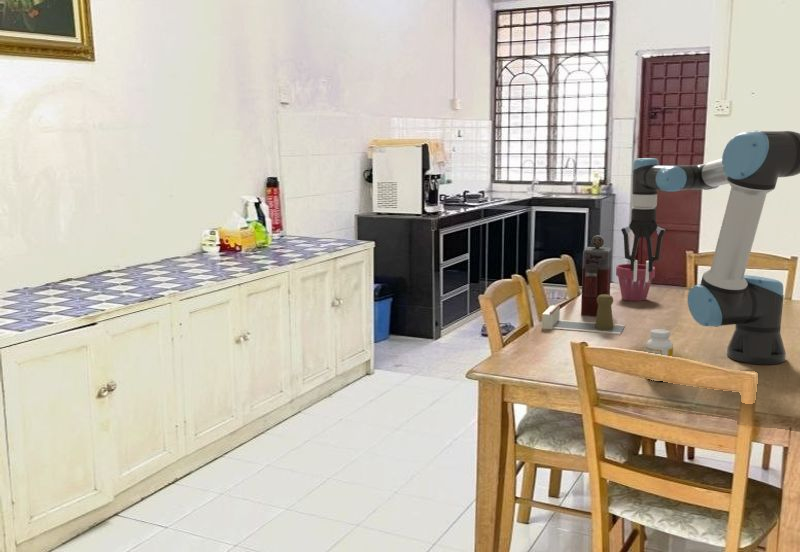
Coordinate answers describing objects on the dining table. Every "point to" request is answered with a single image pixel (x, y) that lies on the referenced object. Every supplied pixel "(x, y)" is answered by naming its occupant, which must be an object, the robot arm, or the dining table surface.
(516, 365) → the dining table surface
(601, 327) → the cork
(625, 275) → the plant pot
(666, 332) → the supplement bottle
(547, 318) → the stop block
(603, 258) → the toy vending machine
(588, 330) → the mat
